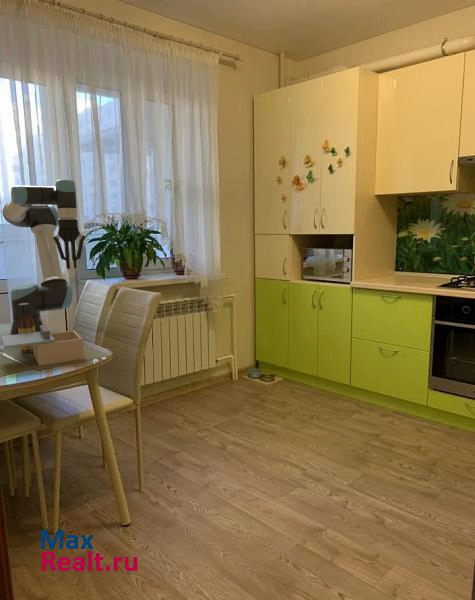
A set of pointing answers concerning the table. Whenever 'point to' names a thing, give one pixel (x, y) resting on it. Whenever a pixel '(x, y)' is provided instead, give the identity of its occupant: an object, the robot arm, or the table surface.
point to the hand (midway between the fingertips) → (72, 276)
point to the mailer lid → (28, 338)
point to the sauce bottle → (25, 325)
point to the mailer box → (60, 349)
